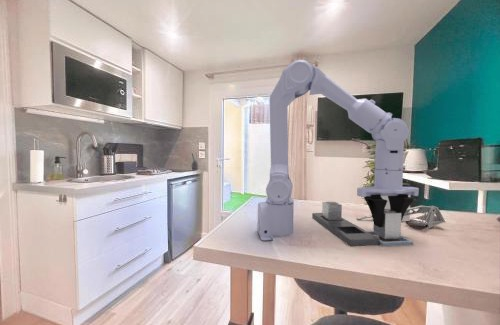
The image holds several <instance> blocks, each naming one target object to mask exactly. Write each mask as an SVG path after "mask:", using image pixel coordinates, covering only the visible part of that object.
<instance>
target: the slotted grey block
mask: <svg viewBox="0 0 500 325" xmlns="http://www.w3.org/2000/svg"><path fill="white" fill-rule="evenodd" d="M321 209H322V210H321V213H322V218H323V219H325V220H326V221H341V217H342V210H343V205H342V204H341V203H339V202H336V201H322V205H321Z"/></svg>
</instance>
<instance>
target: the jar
mask: <svg viewBox="0 0 500 325" xmlns="http://www.w3.org/2000/svg"><path fill="white" fill-rule="evenodd" d="M410 185H411V184H410V183H408V182H402V187H411V186H410ZM411 196H412V195H410V196H408V197H411ZM381 197H382V199H384V200H387V203H386V206H385V209H390V203H389V199H388V196H381ZM408 208H411V205H410V206H409V207H408ZM408 208H407V209H408ZM409 213H411V210H410V211H409ZM410 216H411V215H406V216H403V219H402V221H401V223H406V221H409V220H410V221H411V218H410ZM410 221H409V222H410Z"/></svg>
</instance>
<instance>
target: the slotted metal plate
mask: <svg viewBox="0 0 500 325" xmlns="http://www.w3.org/2000/svg"><path fill="white" fill-rule="evenodd" d="M311 217H312V219H313V220H314V221H315V222H317V223H318V224H320V225H321V226H323V227H324V228H325V229H327V230H328V231H329V232H330V233H332V235H334V236H336V237H337V238H338V239H339V240H341V241H342V242H343V243H345V244H346V245H347V246H348V247H350V248H351V247H366V246H367V247H371V246H374V247H375V246H380V245H379V240H381V239H380V238H379V236H377V235H372V234H370V233H369V232H367V231H368V230H365V229H363V228H362V227H360V226H358V225H356V224H355V223H352V222H351V221H349V220H348V219H345V218H343V217H342V216H341V221H326V220H325V219H323V218H322V212H312V213H311Z"/></svg>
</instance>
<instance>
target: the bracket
mask: <svg viewBox="0 0 500 325" xmlns="http://www.w3.org/2000/svg"><path fill="white" fill-rule="evenodd" d="M409 211H410V213H409ZM417 214H424V215H423V217H422V220H421V222H425V223H423V224H428V226H427V228H426V229H431V228H434V227H435V226H438V225H440V224H442V223H446V221H445V218H444V216H443V214H442V213H441V211H440V209H439V207H437V206H434V205H429V206H427V205H418V206H414V207H410V208H408V209H407V210H406V212H405V214H404V216H406V215H410V216H411V215H417ZM435 216H436V218H434V217H435ZM370 218H372V215H368V216H360V217H356V218H355V219H356V220H357V221H359V220H363V219H369V222H373V218H372V219H370ZM424 220H425V221H424ZM426 222H428V223H426Z"/></svg>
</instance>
